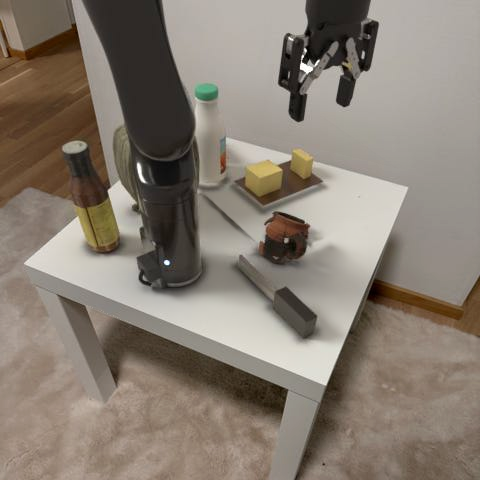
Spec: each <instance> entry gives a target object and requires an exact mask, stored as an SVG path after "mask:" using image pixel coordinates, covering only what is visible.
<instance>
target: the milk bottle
mask: <svg viewBox="0 0 480 480" xmlns="http://www.w3.org/2000/svg"><path fill="white" fill-rule="evenodd" d="M194 100H195V101H196V103H195V108H194V112H195V117H196V131H195V137H196V140H197V144H198V151H199V159H200V168H199V183H203V184H215V183H218V182H220V181H222V180H224V179H225V178H226V175H227V131H226V124H225V120H224V118H223V116H222V114H221V111H220V107H219V106H218V105H219V104H218V101H219V87H218V85H216V84H214V83H207V82H203V83H198V84H196V86H195V87H194Z"/></svg>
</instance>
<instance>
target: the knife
mask: <svg viewBox="0 0 480 480" xmlns="http://www.w3.org/2000/svg"><path fill="white" fill-rule="evenodd" d="M238 269H239V270H240V271H241V272H243V273H244V275H245V276H247V278H249V280H250V281H251V282H252V283H253V284H254V285H255V286H256V287H257V288H258V289H259V290H260V291H261V292H263V293H264V295H266V296H267V298H268V299H269V300H270V301H272V309H273V310H274V311H275V312H276V313H277V314H278V315H279V316H280V317H281V318H282V319H283V321H285V322H286V323H287V325H289V326H290V327H291V329H293V330H294V331H295V332H296V333H297V334H298V335H299V336H300V337H301V339H304V338H306V337H308V336H309V335H311V334H313V333H314V332H315V328H316V324H317V321H318V316H319V315H317V314H316V313H315V312H314V311H313V310H312V309H311V308H309V307H308V305H306V303H304V302H303V301H302V300H301V299H300V298H299V297H298V296H297V295H296V294H295V293H294V292H293V291H292V290H291V289H290V288H289V287H287V286H286V285H285V286H283V287H281V288H279V289H278V287H276V286H275V285H274V284H273V283H272V282H271V281H270V280H269V279H268V278H267V277H266V276H265V275H264V274H263V273H262V272H260V270H259V269H258V268H257V267H255V265H253V263H251V262H250V261H249V260H248V259H247V258H246V257H245V256H244V255H243V254H238Z"/></svg>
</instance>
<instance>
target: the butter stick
mask: <svg viewBox="0 0 480 480" xmlns="http://www.w3.org/2000/svg"><path fill="white" fill-rule="evenodd" d="M277 165H278V164H276V163H274V161H271V159H265V160H263V161H259V162H256V163H253V164H252V165H251V164H250V165H249V166H246V167H245V177H246V179H245V186H246V187H247V188H248V189H250V190H251V191H252V192H253V193H254V194H256V195H257V196H258V197H260V196H263V195H265V194H268V193H270V192H273V191H275V190H278V189H281V181H282V172H283V170H282V169H281V168H279V167H278V166H277Z"/></svg>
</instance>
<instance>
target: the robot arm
mask: <svg viewBox="0 0 480 480" xmlns="http://www.w3.org/2000/svg"><path fill="white" fill-rule="evenodd" d="M80 1H81V3H82V5H83V7H84V10H85V12H86V14H87V17H88V18H89V20H90V23H91V25H92V27H93V30H94V31H95V34H96V36H97V38H98V40H99V42H100V44H101V48H102V50H103V53H104V54H105V57H106V61H107V63H108V66H109V69H110V72H111V76H112V80H113V83H114V87H115V90H116V92H117V93H116V94H117V98H118V101H119V106H120V109H121V114H122V117H123V122H124V123H125V128H126V132H127V134H128V139H129V144H130V150H131V157H132V164H133V171H134V178H135V183H136V188H137V194H138V200H139V205H140V206H139V207H140V208H139V211H140V217H141V223H142V226H140V227H139V229H138V230H139V237H140V241H141V247H142V253H143V254H141V255H138V256H136V258H135V260H136V264H137V268H138V270H139V273H138V281H139V283H140V284H141V285H144V286H147V287H151V286H152V285H153V282H156V283H157V285H158V286H159V287H160V288H161V289H166V288H180V287H186V286H188V285H191V284H192V283H194V282H195V281H196V280H198V279H199V278H200V276H201V274H202V271H203V262H202V256H201V255H202V254H201V253H202V251H201V250H202V249H201V231H200V215H199V195H198V190H197V174H196V167H195V160H194V153H193V144H192V142H193V139H194V135H195V131H196V117H195V112H194V111H195V108H194V105H193V102H192V99H191V97H190V94H189V91H188V88H187V87H186V85H185V83H184V82H183V80H182V78H181V75H180V72H179V70H178V67H177V63H176V60H175V57H174V53H173V51H172V47H171V43H170V38H169V35H168V29H167V24H166V18H165V10H164V4H163V3H164V2H163V0H80ZM371 2H372V0H305V7H304V12H305V15H306V20H307V24H306V27H305V30H304V32H303V33H302V34H296V35H295V34H293V33H290V32H286V33H285V34H284V36H283V41H282V47H281V48H282V49H281V56H280V64H279V71H278V79H277V85H278V87H281V88H283V89H284V90H286V91H288V92H289V100H288V101H289V102H288V110H287V112H288V115H289V117H290V118H291V119H292V120H293V121H295V122H296V123H302V122H303V121H304V120H305V115H306V108H307V101H308V93H307V92H308V91H309V88H310V87H311V85H312V84H313V82H314V80H317V79H319V77H320V76H321V74H322V72H323V71H326V70H329V69H330V68H332V67H339V68H340V71H341V73H342V74H340V75H339V80H338V81H339V82H338V85H337V86H338V87H337V91H336V97H335V103H336V105H339V106H341V107H342V108H347V107H349V106H350V105H351V102H352V100H353V96H354V92H355V89H356V83H357V80H358V79H359V78H360V76H361V74H362V73H363V72H369V70H370V69H371V67H372V64H373V63H372V62H373V58H374V52H375V47H376V43H377V37H378V33H379V27H380V22H379V21H377V20H374V19H372V18H369V17H368V16H369V12H370V7H371ZM363 52H364V54H363ZM309 62H310V63H311V64H312V65H313V66H309V65H308V63H309ZM304 75H305V76H304ZM303 76H304V78H303ZM302 78H303V79H302ZM124 123H123V124H124ZM143 277H144V278H145V279H146V280H144V278H143Z"/></svg>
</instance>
